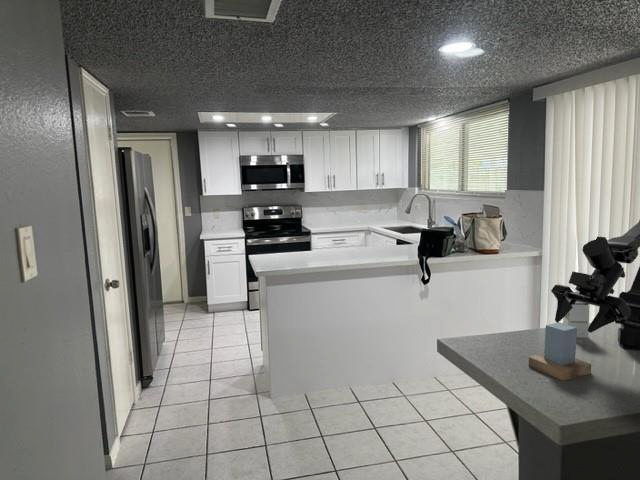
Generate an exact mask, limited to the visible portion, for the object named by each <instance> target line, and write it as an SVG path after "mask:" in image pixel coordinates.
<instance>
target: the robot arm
mask: <svg viewBox="0 0 640 480" xmlns="http://www.w3.org/2000/svg"><path fill="white" fill-rule="evenodd" d="M639 249H640V219H639V220H638V222H637V223H635V225H634V226H632V227H631V228H630V229H629V230H627V231H626V232H625V233H624V234H623V235H621V236H617V237H612V238H610V239H607V238H606V236H596V239H593V240H590V241H588V242H587V243H585V244H584V245H583V247H582V253H583V255H584V256H585V258H586V260H587V261H588V263H589V265H590V266H591V267H592V268H593V269H594V270H593V272H592V273H591V274H589V273H588V274H587V273H584V272H578V271H577V272H576V271H572V272H571V274H570V278H569V280H568V284H569V285H573V286H575V287H574V288H575V289H576V290H577V291H579V292H580V293H579V294H577V293H574V292H573V291H572V290H571V288H572V287H570V286H568V285H563V284H559V283H558V284H554V286H553V287H552V289H551V290H550V291H551V293H552V294H553V296H554V298H555V299H556V300H557V304H556V305H557V306H556V311H555V318H554V322H555V323H557V322H559V323H560V321H562V320H563V318H564V316H565V315H566V314H567V313H568V312H569V311H570V310H571V309H572V308H573V307H572V305H573V304H575V302H576V301H579V302H583V303H587V304H589V305H593V306H596V307H598V312H597V313H596V315H595V316H594V318H593V319H592V320H591V322H590V323H589V328H588V333H593V332H595V331H598V330H599V329H601V328H603V327H605V326H606V325H610V324H612V323H615V324H618V325H619V324H620V327H618V329H617V342H618V343H619V345H620V346H621V347H622V348H623V349H629V350H638V351H640V265H639V267H638V269H637V272H636V274H635V277H634V280H633V281H632V284H631V286H630V289H628V291H621V292H620V293H619V295H618V296H613V294H614V293H615V290H614V287H615V286H616V283H617V282H618V280H619V278H624V279H625V277H626V272H625V267H624V266H622V264H627V265H628V264H629V265H630V264H632V263H633V262H634V261H635V260H636V259H637V257H638V256H639V251H638V250H639ZM609 294H610V295H609ZM611 295H612V296H611Z"/></svg>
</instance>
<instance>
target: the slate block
mask: <svg viewBox="0 0 640 480" xmlns="http://www.w3.org/2000/svg"><path fill="white" fill-rule="evenodd" d="M544 330H545V334H544V352H543V354H544V359H546V360H549V361H551V362H554V363H556V364H559V365H562V366H563V365H566V364H570V363H573V362H575V358H576V353H577V352H576V349H577V337H576V336H577V327H573V326H570V325H566V324H563V322H560V321H559V322H554V323H549V324H546V325H545V329H544Z"/></svg>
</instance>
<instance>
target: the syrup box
mask: <svg viewBox="0 0 640 480" xmlns="http://www.w3.org/2000/svg"><path fill="white" fill-rule="evenodd" d="M570 288H571V290H572V291H573V292H574V293H577V294H579V293H580V292H579V291H577V290H576V289H575V288H576V287H570ZM572 307H573V308H572V309H571V310H570V311H569V312H568V313H567V314H566V315H565V316H564V318H563V319H562V320H563V321H562V323H563V324H566V325H570V326H573V327H577V336H576V339H577V338H579V339H580V338H581V339H582V338H583V339H588V338H589V332H588V328H589V326H590V304H587V303H583V302H579V301H576V302H575V304H573V305H572Z"/></svg>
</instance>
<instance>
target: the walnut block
mask: <svg viewBox="0 0 640 480" xmlns="http://www.w3.org/2000/svg"><path fill="white" fill-rule="evenodd" d="M528 367H530V368H533V369H535V370H538V371H540V372H541V373H544V374H546V375H549V376H551V377H553V378H554V379H557V380H559V381H566V380H567V381H568V380H571V379H574V378H578V376H579V377H582V376H586V375H591V374H592V363H590V362H587V361H584V360H582V359H579V358H577V357H575V362H573V363H570V364H566V365H563V366H562V365H559V364H556V363H554V362H551V361H549V360H546V359H544V353H539V354H535V355H531V356H528Z"/></svg>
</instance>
